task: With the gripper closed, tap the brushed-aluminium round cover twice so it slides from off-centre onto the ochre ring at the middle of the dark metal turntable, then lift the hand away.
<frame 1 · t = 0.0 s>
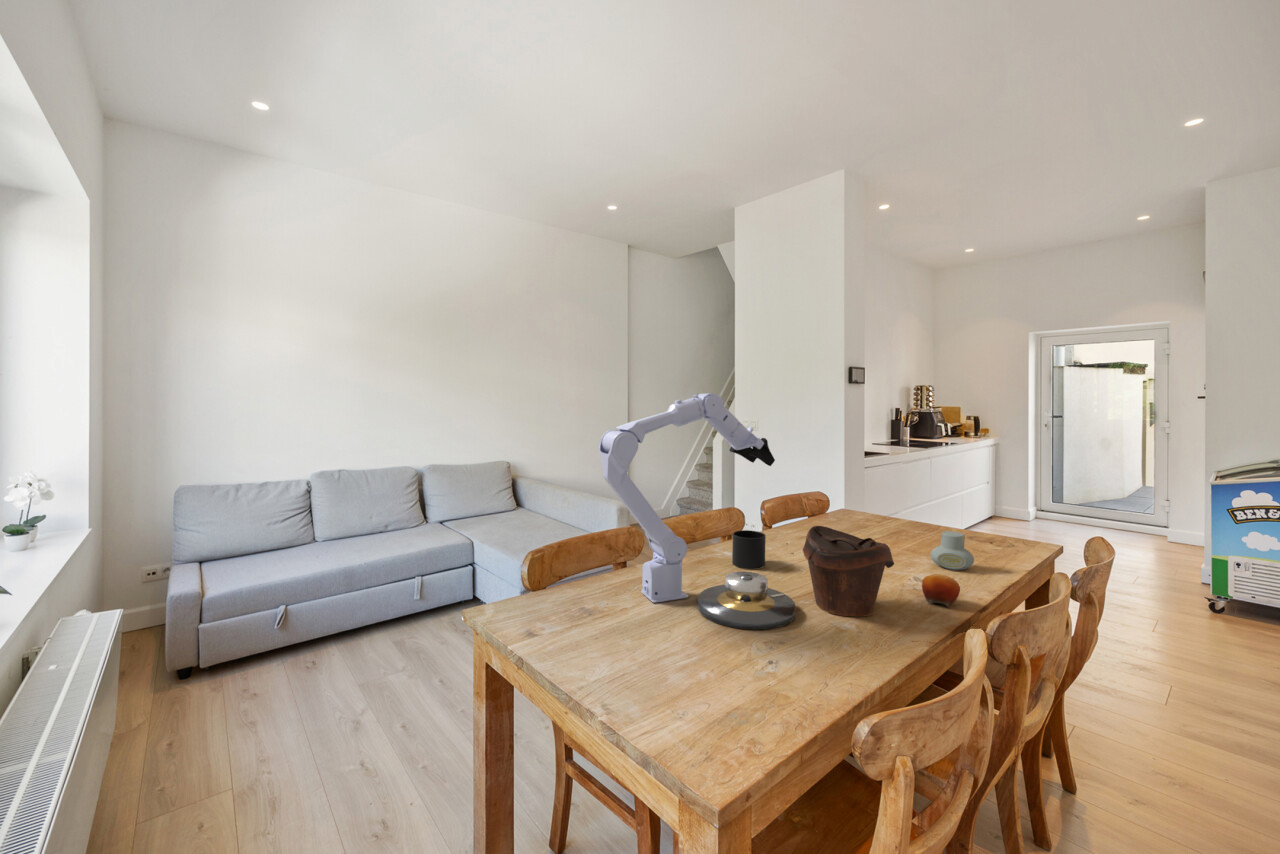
hand: (763, 461, 142), 32 cm above the table, tool tilted 50°, fingers open, 7 cm apart
air freshener: (951, 568, 157), on the table
fruit: (940, 603, 130), on the table
turntable: (745, 604, 125), point 1 cm above the table, hinge at 0.0°, touching cover
case: (845, 607, 127), on the table
black cylindrical cup: (751, 564, 160), on the table
cover: (746, 592, 130), point 2 cm above the table, touching turntable
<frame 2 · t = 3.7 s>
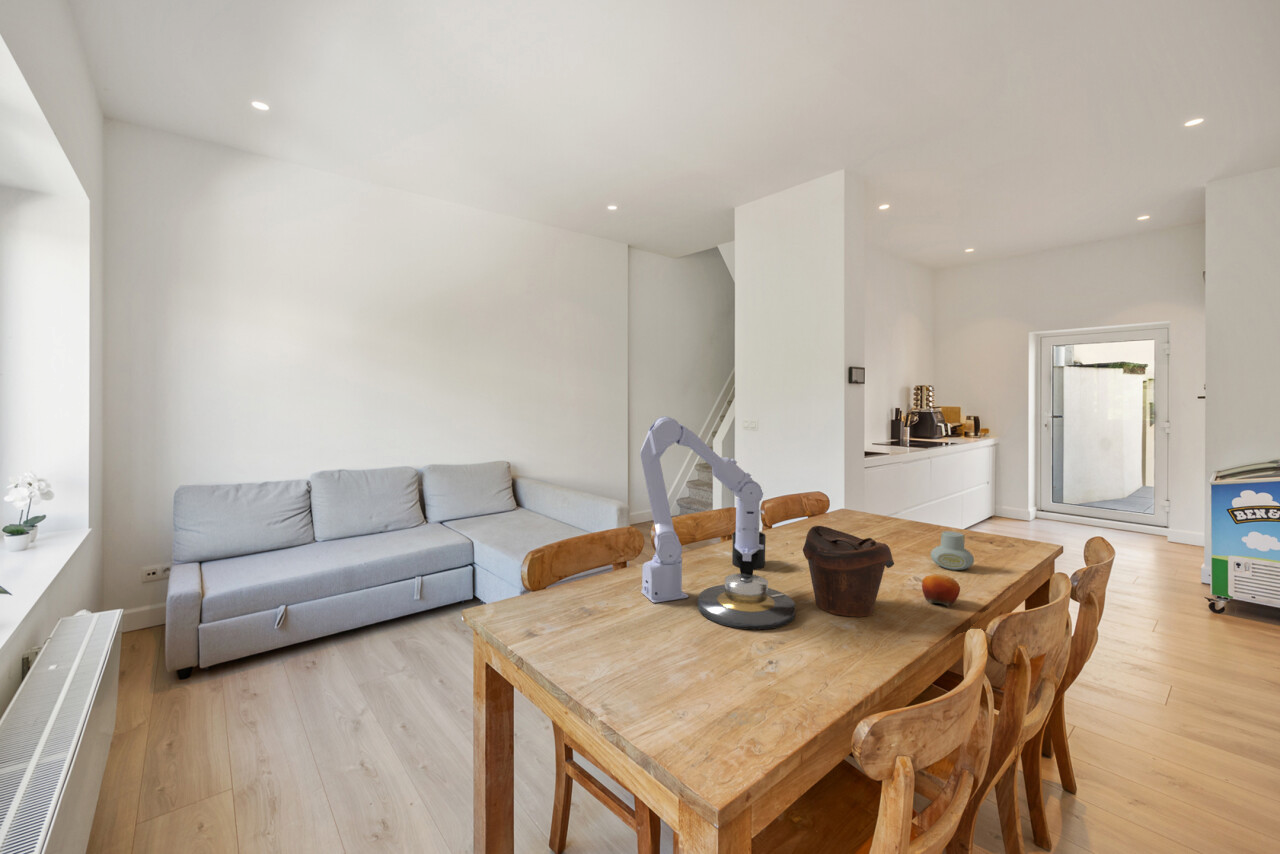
hand: (746, 581, 134), 3 cm above the table, tool pointing down, fingers closed
cover: (746, 594, 128), point 2 cm above the table, touching gripper, turntable
everything else where it was.
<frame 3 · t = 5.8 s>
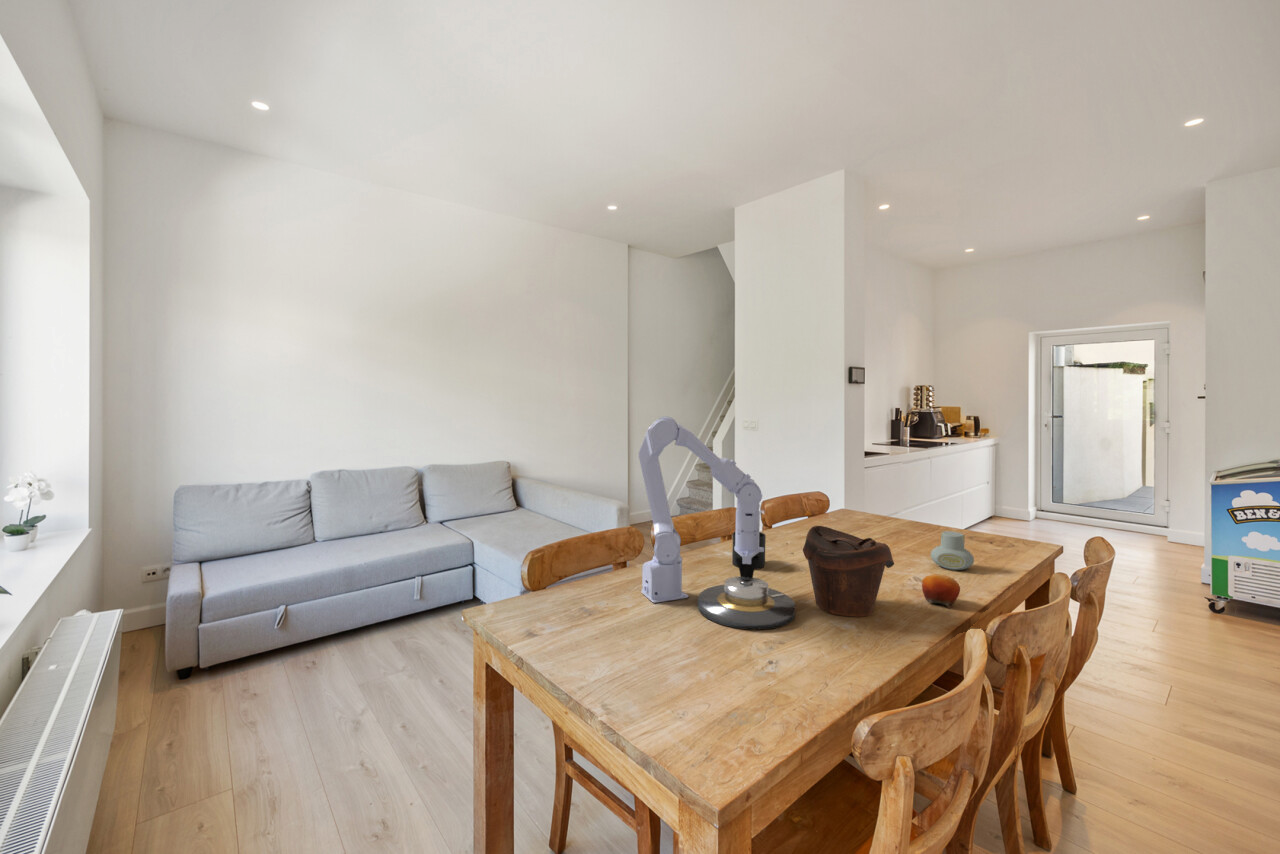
hand: (746, 584, 132), 3 cm above the table, tool pointing down, fingers closed
turntable: (745, 604, 125), point 1 cm above the table, hinge at 0.0°
cover: (745, 598, 126), point 2 cm above the table, touching gripper
everything else where it was.
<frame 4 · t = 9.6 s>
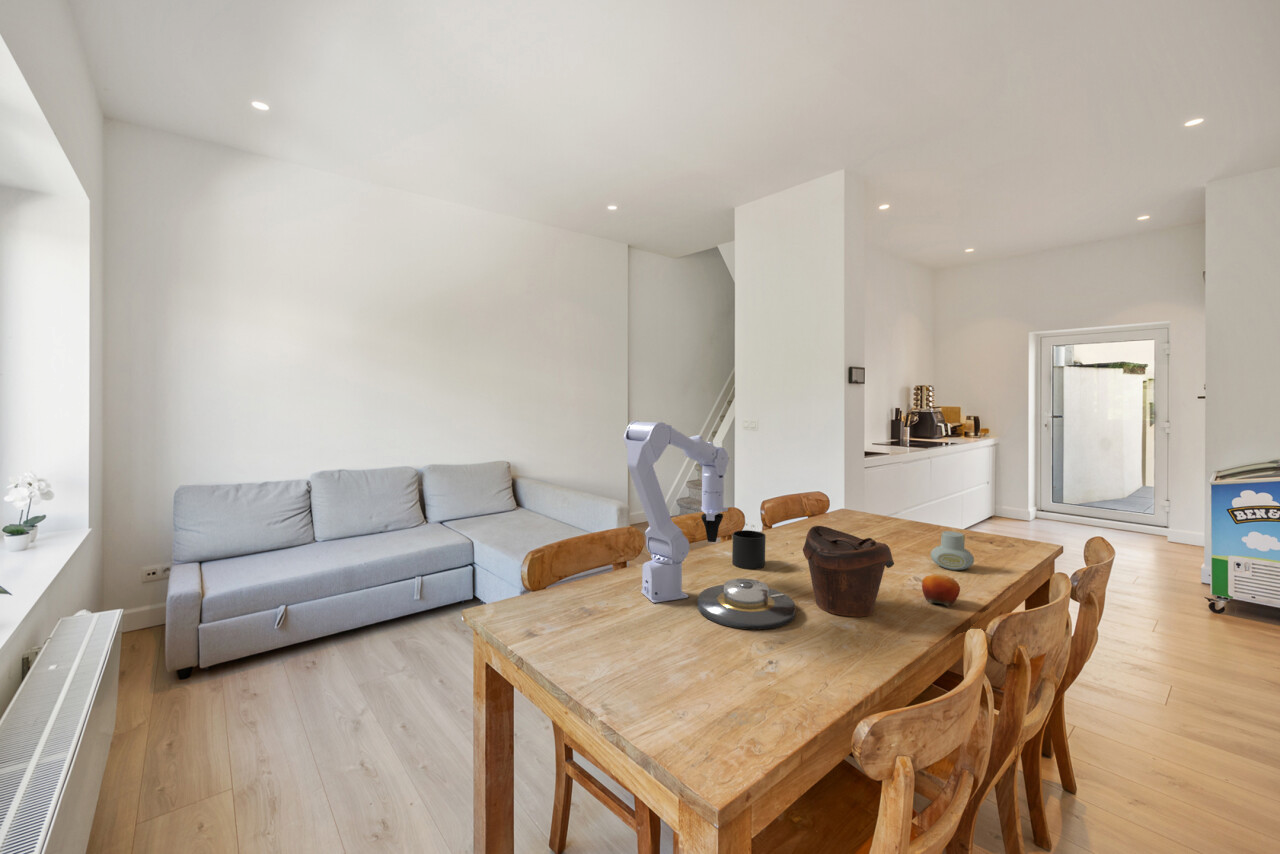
hand: (712, 541, 145), 10 cm above the table, tool pointing down, fingers closed
turntable: (745, 604, 125), point 1 cm above the table, hinge at 0.0°, touching cover
cover: (745, 600, 124), point 2 cm above the table, touching turntable
everything else where it was.
at the end: cover 0.5 cm from the turntable (horizontally); cover tilted 0°; cover touching turntable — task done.
